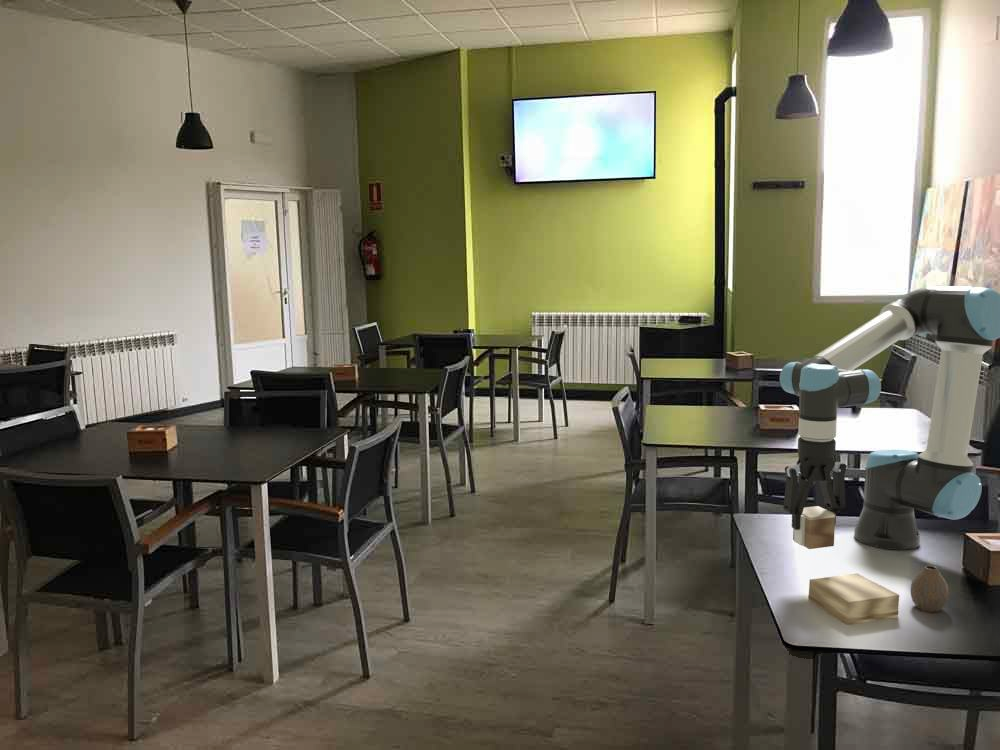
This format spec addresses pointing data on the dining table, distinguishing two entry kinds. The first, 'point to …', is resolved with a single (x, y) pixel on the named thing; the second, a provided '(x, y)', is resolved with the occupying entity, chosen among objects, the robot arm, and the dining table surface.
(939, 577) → the vase
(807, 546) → the pale wooden block
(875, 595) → the beech base
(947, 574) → the dining table surface
